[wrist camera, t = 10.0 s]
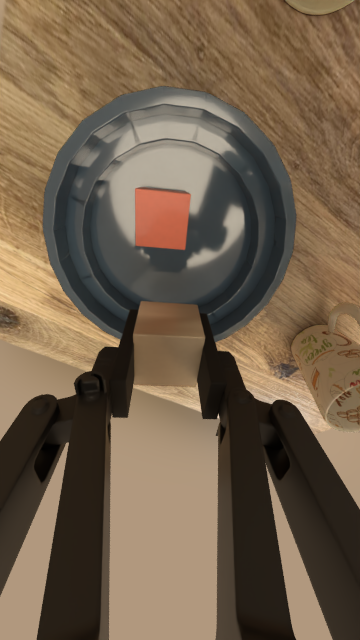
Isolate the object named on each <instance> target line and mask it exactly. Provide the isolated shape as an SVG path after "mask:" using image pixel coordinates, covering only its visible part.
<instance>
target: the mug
mask: <svg viewBox="0 0 360 640" xmlns="http://www.w3.org/2000/svg"><path fill="white" fill-rule="evenodd" d="M340 314H348V315H350V316H352V317H353V318H354V319H355V320H356V321H357V323H358V324H359V326H360V307H358V306H357V305H355V304H352V303H347V302H344V303H340V304H338V305H337V306H335V307H334V308H333V309H332V310H331V311H330V313H329V317H328V326H327V325H315V326H311V327H309V328H307V329H305V330H303V331H302V332H300V333H299V334H298V335H297V336H296V337H295V339H294V340H293V342H292V345H291V352H292V355H293V357H294V359H295V361H296V363H297V365H298V367H299V369H300V371H301V373H302V375H303V377H304V380H305V382H306V384H307V386H308V388H309V390H310V392H311V394H312V396H313V398H314V400H315V402H316V404H317V406H318V408H319V410H320V412H321V414H322V416H323V418H324V420H325V421H326V423H327V424H328V425H329V426H330V427H332V428H333V429H335V430H339V431H343V432H358V431H360V345H359V344H357V343H356V342H354V341H353V340H351V339H350V338H348V337H347V336H345V335H344V334H342V333H340V332H339V331H337V330H336V329H335V325H336V321H337V317H338V316H339V315H340Z"/></svg>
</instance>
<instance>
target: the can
mask: <svg viewBox="0 0 360 640" xmlns="http://www.w3.org/2000/svg"><path fill="white" fill-rule="evenodd" d="M285 1H286V2H287V3H288V4H289V5H290V6H292V7H293V8H295V9H296V10H298V11H300V12H303V13H305V14H311V15H323V14H328V13H332V12H334V11H337V10H339V9H341V8H343V7H345V6H346V5H348V4H350V3H351V2H352V1H354V0H285Z"/></svg>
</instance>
